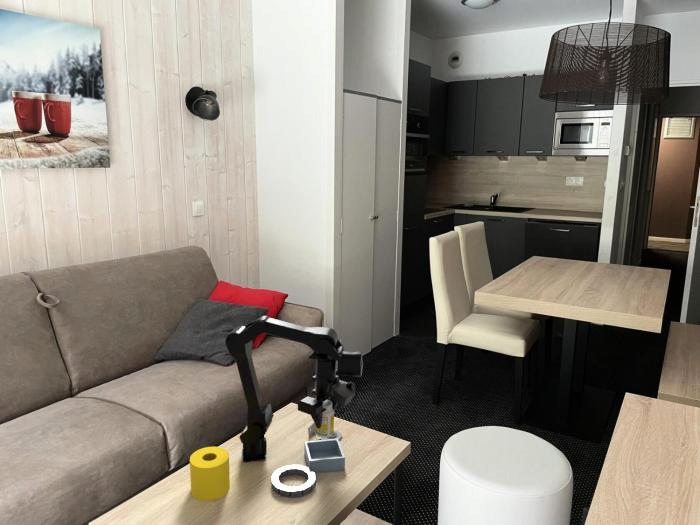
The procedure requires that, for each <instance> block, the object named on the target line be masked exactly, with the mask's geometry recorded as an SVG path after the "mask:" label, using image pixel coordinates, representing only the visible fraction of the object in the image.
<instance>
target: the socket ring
mask: <svg viewBox="0 0 700 525" xmlns="http://www.w3.org/2000/svg"><path fill="white" fill-rule="evenodd" d="M288 476H299V477H305V478H304V479H306V480H307V481H306V482H305V483H304V484H301V485H299V486H288V485H284V484H283V483H281V482H280V481H281V480H282V479H284V478H286V477H288ZM270 481H271V489H273V490H272V492H274V494H276V495H278V496H279V497H283V498H286V499H297V498H302V497H303V498H304V496H306V495H307V496H308V495H309V494H311V493H312V492H313V490H314V489H315V487H316V486H317V485H316V484H317V479H316V473H314V471H312V470H311V469H309V468H308V467H307V465H301V464H291V465H290V464H289V465H284V466H282V467H280V468H278V469H276V470H275V471H274V472H273V473H272V475H271V478H270Z"/></svg>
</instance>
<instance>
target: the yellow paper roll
mask: <svg viewBox="0 0 700 525" xmlns="http://www.w3.org/2000/svg"><path fill="white" fill-rule="evenodd" d="M189 471H190V472H189V473H190V493H191V496H192V497H193V498H195V499H196V500H199V501H203V502H209V501H215V500H219V499H220V498H222V497H224V496H226V495H227V494H228V493H229V491H230V489H231V488H230V485H231V484H230V482H231V481H230V453H229V451H228V450H227V449H225V448H224V447H220V446H205V447H202V448H200V449H197V450H196V451H194V452H193V453H192V454H191V455H190V457H189Z"/></svg>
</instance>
